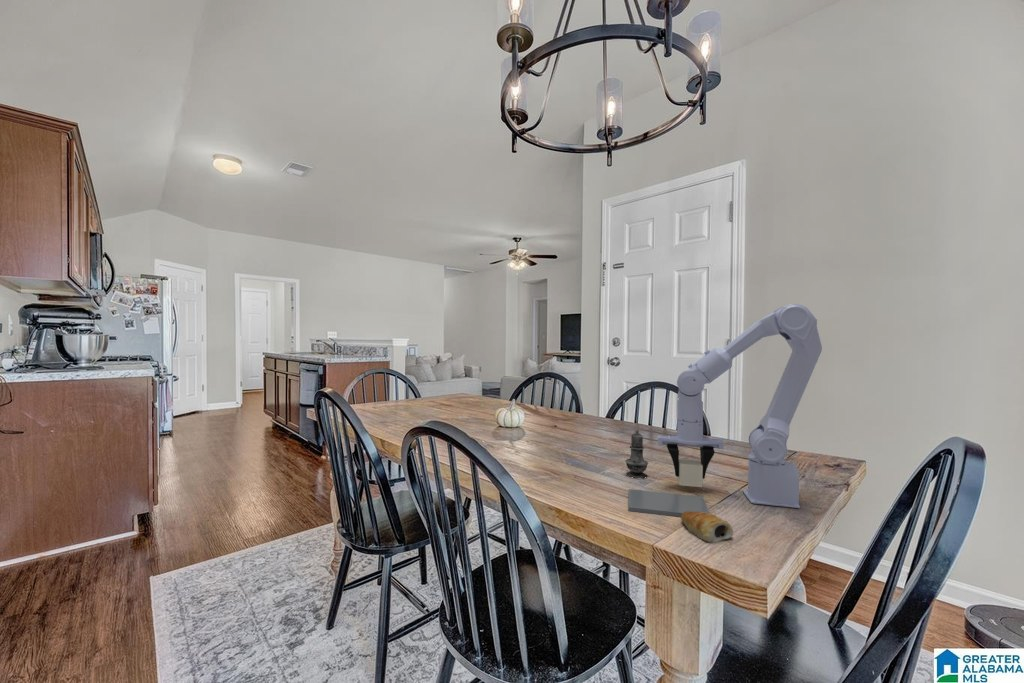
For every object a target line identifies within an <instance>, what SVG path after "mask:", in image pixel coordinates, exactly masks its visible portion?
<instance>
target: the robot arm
mask: <svg viewBox="0 0 1024 683" xmlns="http://www.w3.org/2000/svg"><path fill="white" fill-rule="evenodd" d="M776 335H780V336H782V337H783V338H784V339H785V341H786V342H787V344H788V346H789V348H791V353H790V356H789V358H788V361H787V363H786V366H785V368H784V370H783V372H782V375H781V377H780V380H779V381H778V385H777V386H776V389H775V392H774V394H773V397H771V398H772V399H771V400H770V403H769V405H768V407H767V410H766V413H765V414H764V416H763V417H762V418H761V419H760V421H759V423H758V425H757V426H756V427H755V428H754V429H753V430H752V431H751V432H750V433H749V435H748V444H749V445H750V447H751V449H752V451H751V452H750V454H748V463H747V464H748V466H747V469H748V472H747V476H748V477H747V488H746V489H745V488H744V489H742V492H743V494H744V495H745V497H746V498H747V500H748V501H749V502H750V504H757V505H765V506H774V507H784V508H785V507H786V508H793V509H795V508H796V509H800V508H801V505H800V503H799V502H800V497H799V496H800V475H799V474H800V473H799V469H798V467H797V465H796V463H794V462H792V461H786V459H785V458H786V457H787V454H788V445H787V442H788V438H789V436H790V425H791V422H792V420H793V418H794V415H795V414H796V411H797V408H798V406H799V405H800V404H799V403H800V401H801V400H802V397H803V395H804V393H805V391H806V388H807V385H808V384H809V381H810V379H811V377H812V375H813V372H814V369H815V367H816V365H817V363H818V361H819V358H820V356H821V353H822V350H823V346H822V345H823V344H822V342H821V338H820V334H819V330H818V319H817V317H815V316H814V314H813V313H812V312H811V310H810V309H809V308H808V307H807V306H805V305H803V304H799V303H791V304H787V305H785V306H780V307H779V308H776V309H775V310H774V311H773V312H772V313H768V314H767V315H765V316H764V317H762V318H760V319H758V320H756V321H755V322H754V323H753V324H752V325H750V326H749V327H747V329H745V330H744V331H743V332H742V333H740V334H739V335H738V336H736V338H735V339H733V340H731V342H729V343H728V344H727V345H726V346H725V347H723V348H716V347H715V348H712V349H711V350H710V349H707V350H705V351H704V352H703V354H704V355H703V356H701V358H700V359H698V360H697V361H696V362H694V363H690V364H689V365H687V367H688V369H687V370H683V371H682V372H680V374H679V375H678V377H677V380H676V386H677V389H678V392H677V403H676V404H677V405H676V409H677V410H676V418H677V419H676V422H677V423H676V435H657V445H658V446H666V448H667V451H668V452H669V455H670V457H671V458H670V459H671V460H672V463H673V468H674V475H675V477H679V459H680V456H679V455H680V449H679V447H692V448H693V447H694V448H699V453H700V455H699V456H700V462H701V464H702V466H703V480H705V477H706V472H707V470H708V467H709V465H710V463H711V461H712V459H713V457H714V455H715V449H718V450H724V449H725V448H724V446H725V445H724V444H725V442H724V440H723V439H719V438H712V437H711V438H710V437H704V421H703V420H704V402H703V397H702V396H703V395H702V394H703V390H704V388H705V385H707V384H711V383H712V382H714V381H715V380H716V379H718V378H719V377H720V376H721V375H723V374H724V373H726V372H727V371H728V370H730V369H731V368H732V367H733V360H734V358H736V357H737V356H739V355H740V354H742V353H743V352H744V351H746V350H748V349H749V348H750V347H751V346H753V345H754V344H756V343H757V342H759V341H760V340H762V339H763V338H767V337H772V336H776Z"/></svg>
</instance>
